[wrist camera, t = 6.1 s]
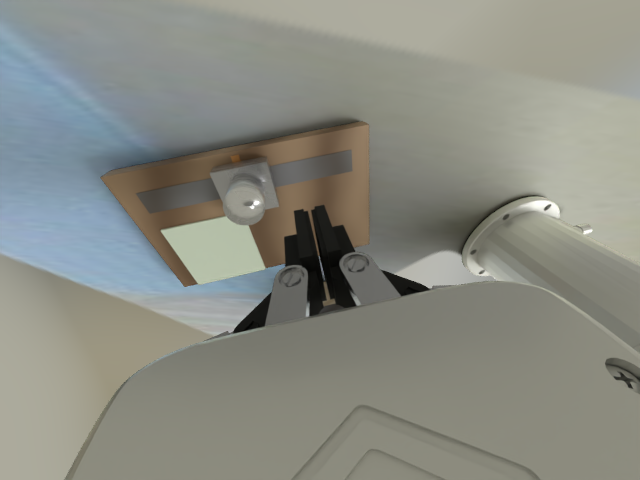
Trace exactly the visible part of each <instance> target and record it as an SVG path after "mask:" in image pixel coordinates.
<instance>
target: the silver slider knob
mask: <svg viewBox="0 0 640 480" xmlns="http://www.w3.org/2000/svg"><path fill="white" fill-rule="evenodd" d="M210 176H211V178H212V180H213V182H214V184H215V187H216V189H217V191H218V193H219V195H220V198H221V200H222V202H223V211H224V213H225V215H226V216H227V218H228V219H229V220H231V221H232V222H234V223H236V224H239V225H252V224H255V223H257V222H258V221H260V220H261V218H262V217H263V215H264V212H265V210H266V209H270V208H275V207H279V199H278V195H277V192H276V188H275V184H274V181H273V177H272V174H271V170H270V166H269V163H268V159H267V156H265V157H260V158H255V159H250V160H245V161H240V162H235V163H230V164H225V165H220V166H215V167H213V168H212V170H211V172H210Z"/></svg>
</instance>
